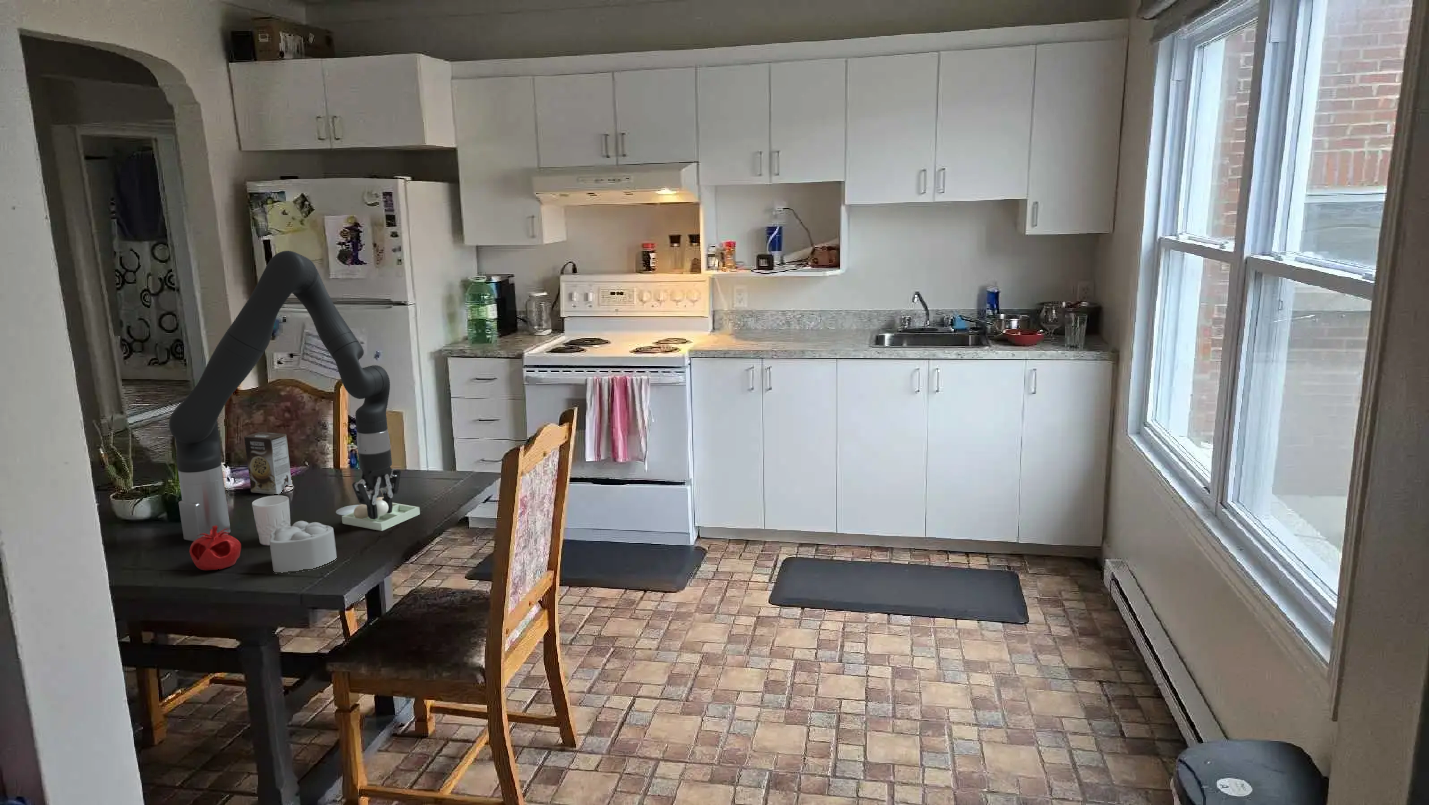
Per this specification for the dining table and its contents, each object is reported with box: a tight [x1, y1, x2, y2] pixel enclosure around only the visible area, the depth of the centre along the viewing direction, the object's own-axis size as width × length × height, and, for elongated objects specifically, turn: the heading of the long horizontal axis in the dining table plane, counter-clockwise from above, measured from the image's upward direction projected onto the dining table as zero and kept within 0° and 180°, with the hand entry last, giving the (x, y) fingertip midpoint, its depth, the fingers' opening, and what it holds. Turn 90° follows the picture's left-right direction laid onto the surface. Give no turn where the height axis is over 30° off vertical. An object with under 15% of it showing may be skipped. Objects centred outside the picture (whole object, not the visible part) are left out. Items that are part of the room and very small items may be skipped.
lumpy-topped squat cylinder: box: [269, 520, 337, 573], centre depth 206 cm, size 10×13×9 cm
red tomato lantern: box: [189, 525, 242, 571], centre depth 205 cm, size 10×10×9 cm
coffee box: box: [243, 431, 293, 495], centre depth 257 cm, size 9×6×16 cm
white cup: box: [251, 494, 292, 546], centre depth 220 cm, size 8×8×10 cm
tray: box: [341, 496, 421, 532], centre depth 232 cm, size 13×13×5 cm
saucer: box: [335, 504, 359, 516], centre depth 239 cm, size 8×8×1 cm
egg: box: [376, 500, 389, 516], centre depth 227 cm, size 4×4×4 cm
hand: (380, 515), depth 228 cm, fingers open, 4 cm apart
